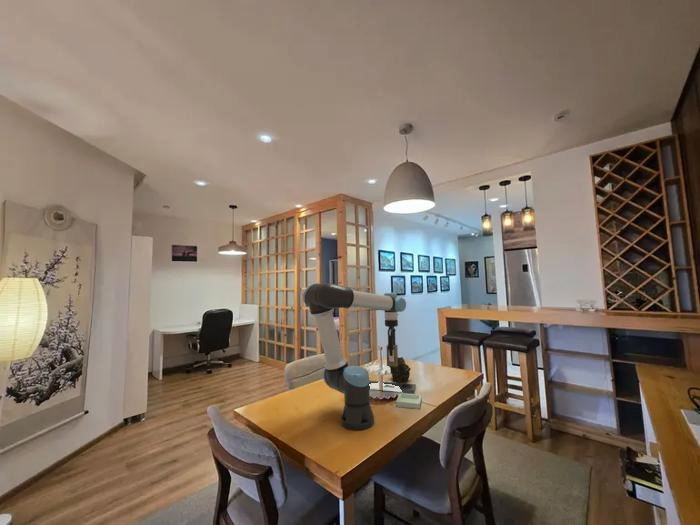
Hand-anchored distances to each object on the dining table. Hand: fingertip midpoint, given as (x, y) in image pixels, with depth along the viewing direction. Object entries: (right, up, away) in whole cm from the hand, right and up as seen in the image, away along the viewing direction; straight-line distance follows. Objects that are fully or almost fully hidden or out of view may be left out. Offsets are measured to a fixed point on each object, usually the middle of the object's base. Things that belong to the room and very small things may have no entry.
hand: (392, 359), depth 163 cm
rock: (+8, -20, +19) cm, 28 cm away
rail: (-1, -19, +5) cm, 19 cm away
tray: (+6, -17, -16) cm, 24 cm away
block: (0, -3, 0) cm, 3 cm away
